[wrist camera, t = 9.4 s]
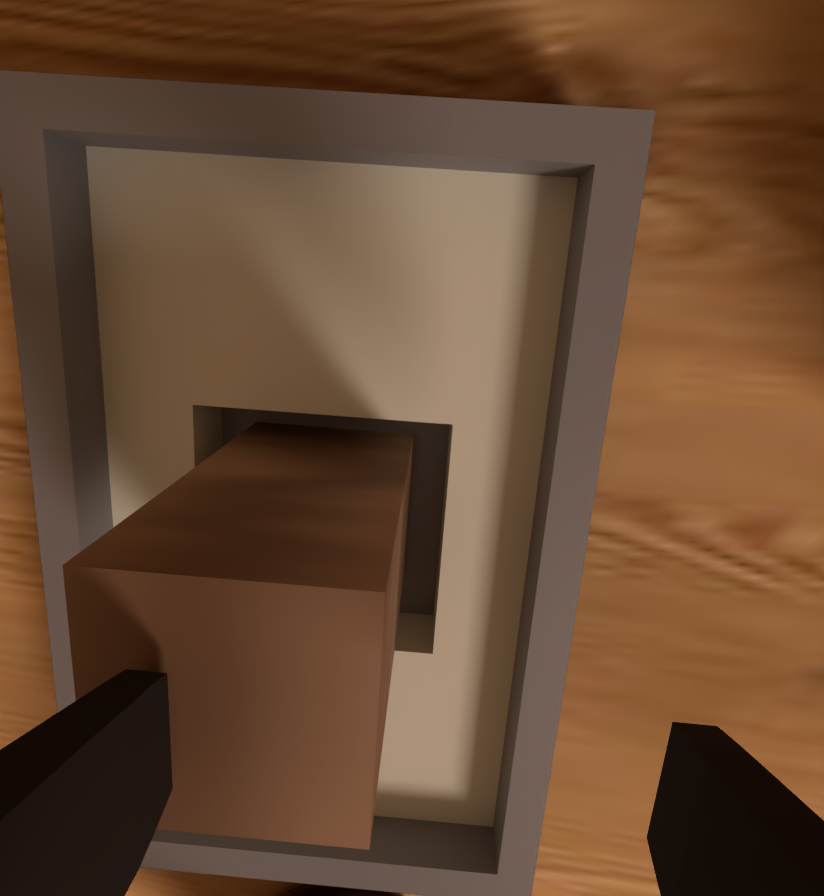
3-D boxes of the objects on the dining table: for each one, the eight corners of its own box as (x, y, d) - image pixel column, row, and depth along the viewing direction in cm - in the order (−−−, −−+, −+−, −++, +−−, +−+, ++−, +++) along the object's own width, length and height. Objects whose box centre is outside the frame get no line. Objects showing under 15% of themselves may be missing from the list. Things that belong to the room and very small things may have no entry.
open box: (600, 155, 15) (655, 110, 11) (512, 788, 20) (529, 905, 17) (100, 123, 15) (-13, 69, 12) (141, 754, 21) (73, 860, 17)
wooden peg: (414, 433, 17) (385, 592, 8) (403, 577, 18) (369, 849, 9) (256, 421, 17) (63, 564, 8) (256, 565, 18) (87, 822, 9)
